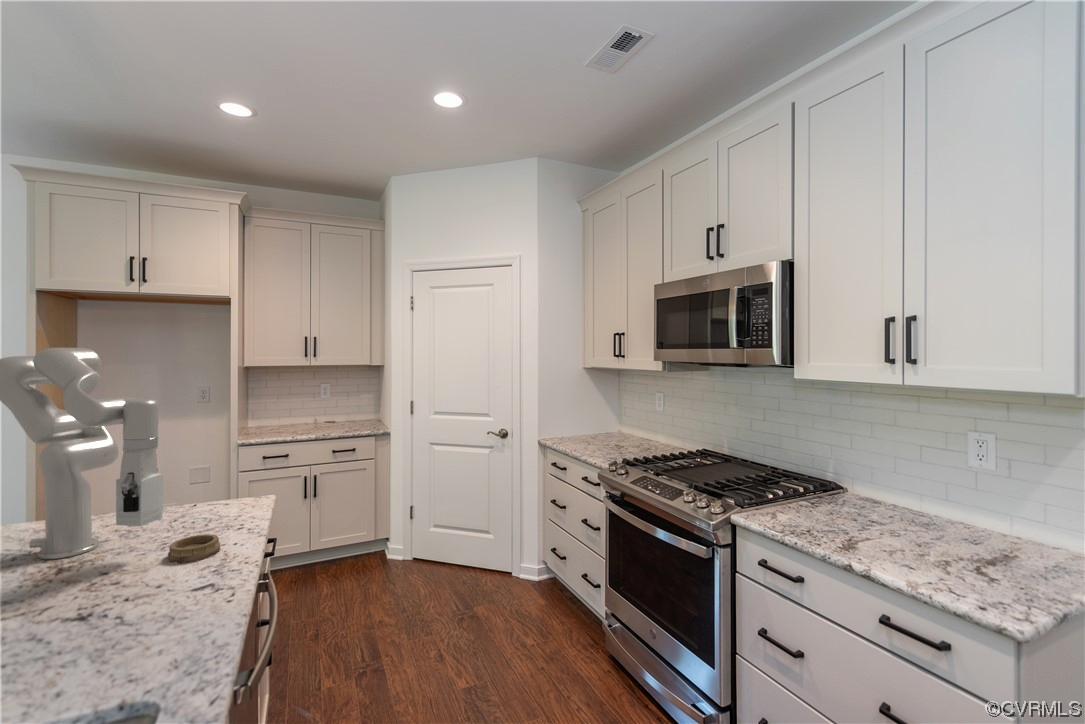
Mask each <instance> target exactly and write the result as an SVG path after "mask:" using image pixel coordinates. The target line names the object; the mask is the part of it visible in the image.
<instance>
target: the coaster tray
mask: <svg viewBox="0 0 1085 724" xmlns="http://www.w3.org/2000/svg"><path fill="white" fill-rule="evenodd" d="M219 540H220V539H219V536H218V535H217V534H210V533H206V534H196V535H192V536H188V537H187V536H186V537H183V538H180V539H178V540H175V541H174V542H172V543H171V544H169V551H168V553H167V560H169V561H168V562H170V563H172V562H177V563H176V564H183V563H182V562H188V563H192V562H191V561H194V562H197V560H199V561H202V560H201V559H203V560H206V559H209V558H211V557H213V556H215V555H216V553H217V552H218V553H220V551H221V543H220V541H219ZM219 550H220V551H219ZM218 553H217V554H218ZM212 555H213V556H212ZM210 556H211V557H210ZM208 557H209V558H208ZM205 558H206V559H205Z"/></svg>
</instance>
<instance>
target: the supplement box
mask: <svg viewBox="0 0 1085 724" xmlns="http://www.w3.org/2000/svg"><path fill="white" fill-rule="evenodd" d="M163 477H164V476H163V473H157V474H153V475H151V476H149V477H147V478H145V479H143V480H142V481H141V485H140V487H139V488H138V494H137V496H139V510H138V511H137V512H123V497H122V496H123V494H122V489H121V488H120V478H117V479H116V480H115V484H116V485H115V487H116V488H115V491H116V492H115V493H116V494H115V497H116V498H115V503H116V504H115V513H116V514H115V519H116V521H115V524H116V525H115V526H130V527H131V526H132V527H142V526H143V527H144V526H145V525H149V524H151V523H153V522H155V521H157V520H160V519H162V518H163V507H164V506H163V503H164V502H163V493H164V491H163V482H164V481H163V480H164V478H163ZM130 485H137V483H136V482H135V480H132V482H131V483H130ZM132 491H133V492H134V489H132Z"/></svg>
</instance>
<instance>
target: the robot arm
mask: <svg viewBox="0 0 1085 724" xmlns="http://www.w3.org/2000/svg"><path fill="white" fill-rule="evenodd" d="M101 367H102V360H101V357H100V355H99V354H98V353H97V352H96V351H94V350H93V349H90V348H86V347H50V348H49V347H48V348H45V349H42V350H41V351H38V352H37V353H36V354H35V355H16V356H7V357H2V358H0V402H1V403H2V404H3V405H4V406H5V407H6V408H7V409H8V410H9V411H10V412H11V414H12V415H13V416H14V418H15V419H16V421H17V422H18V424H19V425H20V427H21V428H22V430H23V431H24V433H25V434H26V436H27V437H28V438H29V440H31V441H32V442H33V443H34V444H36V445H40V446H45V447H44V448H43V449H42V450H41V451H40V452H39V455H38V466H39V469H40V473H41V476H42V480H43V491H44V493H43V494H44V517H45V519H44V520H45V523H44V526H45V527H44V528H45V529H44V532H45V537H43V538H32V539H31V540H30V542H29V546H28V547H29V548H30V549H34V548H40V550H39V551H38V553H37V557H38V558H39V559H42V560H56V559H63V558H69V557H74V556H77V555H81V554H85V553H88V552H90V551H92V550H94V549H96V548H97V547H99V545H100V540H99V539H97V538H92V537H93V533H92V531H93V529H92V528H93V527H92V522H93V521H92V487H91V484H90V483H89V480H87V478H86V477H84V475H82V472H86V471H91V470H95V469H100V468H105V467H107V466H109V465H112V464H113V463H115V461H116V460H117V459H118V456H119V447H118V444H117V443H116V441H115V439H114V437H113V436H112V434H111V433H110V431H109V430H108V429H107V428H106V426H114V425H122V451H123V453H122V456H121V457H122V459H121V465H120V473H119V479H120V488H121V489H122V494H123V496H122V497H123V512H137V511H138V510H139V496H137V494H138V488H139V487H140V485H141V481H142V480H143V479H145V478H147V477H149V476H151V475H153V474H158V471H159V469H158V455H157V449H159V411H160V410H159V406H160V405H159V403H158V401H157V400H156V399H152V398H139V397H136V396H120V397H119V396H116V397H103V398H93V397H91V396H90V394H92V393H93V392H94V391H95V390H97V388H98V387H99V386H100V384H101V380H102V379H101V375H100V373H98V372H99V371H100V369H101ZM49 384H50V385H53V384H54V385H55V386H57V387H58V388H59V389H61V391H63V393H62V404H63V407H64V409H60V408H58V407H57V406H56V405H55V403H54V402H53V401H52V399H51V398H50V397H49V396H48V395H46V394H45V393H44V392H42V391H40V390H38V389H36V388H34V387H32V386H33V385H36V386H37V385H49ZM132 480H135V482H136V483H137V485H130V483H131V482H132ZM132 489H134V492H133V491H132Z"/></svg>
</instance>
